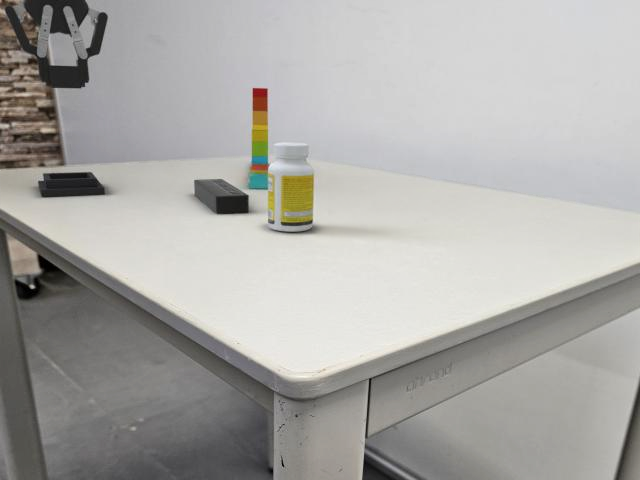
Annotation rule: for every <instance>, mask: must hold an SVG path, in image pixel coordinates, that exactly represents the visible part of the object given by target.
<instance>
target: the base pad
mask: <svg viewBox="0 0 640 480" xmlns="http://www.w3.org/2000/svg"><path fill="white" fill-rule="evenodd" d="M42 177H43V180H38V181H37V185H38V189H39V192H40V196H41V198H47V197H48V198H49V197H50V198H52V197H70V196H71V197H73V196H96V195H97V196H98V195H105V194H106V192H105V187H104V185H103V184H102V183H101V182H100V181H99V180H98V178H97V177H96V176H95V175H94V173H93V172H92V171H77V172H75V171H74V172H44V173H42Z"/></svg>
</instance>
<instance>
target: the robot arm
mask: <svg viewBox="0 0 640 480" xmlns="http://www.w3.org/2000/svg"><path fill="white" fill-rule="evenodd" d="M25 12H26V13H27V14H28V15H29V16H30V18H31V19H32V20H33V21H34V22H35V24H36V25H37V26H38V27H39V30H38V34H37V44H36V45H34V44H32V43H30V42H31V41H30V40H29V37H28V36H27V33H26V32H25V29H24V27H23V26H22V23H23V22H24V20H25V16H24V13H25ZM4 14H5V15H6V18H7V20H8V22H9V24H10V26H11V29H12V30H13V32H14V36H15V37H16V40H17V41H18V44H19V46H20V48H21V50H22V51H23V52H24V53H27V54H29V55H32V56H34V57H35V58H36V61H37V70H38V78H39V81H40V82H41V83H45V84H44V85H45V87H50V86H51V80H50V72H49V65H50V61H49V58H47V52H48V51H47V50H48V45H49V40H50V34H51V35H54V34H62V35H69V38H70V41H71V43H72V45H73V48H74V50H75V54H76V59H75V62H76V63H75V64H76V66H79V69H80V78H81V88H86V84H89V82H90V74H89V73H90V72H89V71H90V70H89V63H88V61H89V59H90V58H91V57H94V56H98V55H99V54H100V53H101V51H102V44H103V41H104V38H105V37H104V36H105V33H106V28H107V23H108V19H109V15H108V14H107V13H106V12H104V11H101V12H100V11H98V10H96V9H93V8H91V7H90V6H89V3H88V2H87V1H86V0H23V1H22V3H19V4H15V5H6V6H5V7H4ZM87 16H88V17H89V19H90V20H89V22H90V25H91V26H92V27H94V29H93V33H92V36H91V42H90V46H89V47H86V46H85V43H84V40H83V37H82V34H81V30H80V29H79V28H80V27H81V25H82V24H83V22H84V20H85V19H86V18H87Z"/></svg>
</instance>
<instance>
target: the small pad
mask: <svg viewBox="0 0 640 480" xmlns="http://www.w3.org/2000/svg"><path fill="white" fill-rule="evenodd" d="M49 72H50V80H51V86H49V88H50V89H81V90H82V87H81V78H80V69H79V66H77V65H55V64H54V65H53V64H49Z"/></svg>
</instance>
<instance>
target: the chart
mask: <svg viewBox="0 0 640 480" xmlns="http://www.w3.org/2000/svg"><path fill="white" fill-rule="evenodd" d="M268 95H269V89H268V88H266V87H265V88H264V87H252V127H251V162H250V169H249V174H248V177H247V178H248V179H247V184H248V185H249V189H261V190H262V189H264V190H268V167H269V111H268V109H269V102H268V101H269V99H268V97H269V96H268Z"/></svg>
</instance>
